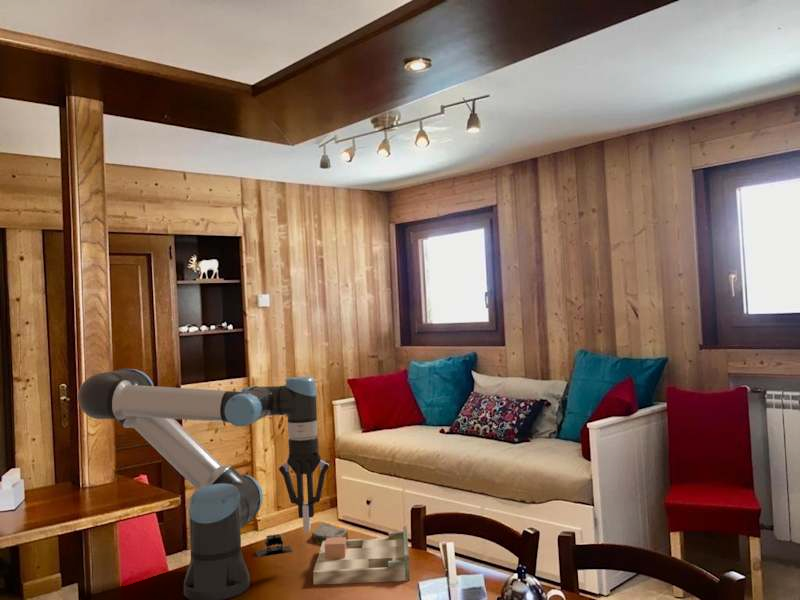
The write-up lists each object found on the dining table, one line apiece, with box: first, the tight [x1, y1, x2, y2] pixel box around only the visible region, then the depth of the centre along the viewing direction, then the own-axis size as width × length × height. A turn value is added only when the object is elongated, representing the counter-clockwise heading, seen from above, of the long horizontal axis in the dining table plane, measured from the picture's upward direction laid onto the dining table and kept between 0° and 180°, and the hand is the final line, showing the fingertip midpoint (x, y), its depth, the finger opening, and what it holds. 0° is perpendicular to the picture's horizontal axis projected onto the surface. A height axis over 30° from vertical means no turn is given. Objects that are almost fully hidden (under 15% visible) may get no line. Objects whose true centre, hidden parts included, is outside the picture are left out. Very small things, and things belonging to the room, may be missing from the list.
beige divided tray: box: [312, 525, 411, 586], centre depth 168 cm, size 23×22×6 cm
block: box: [325, 537, 346, 559], centre depth 168 cm, size 5×5×4 cm
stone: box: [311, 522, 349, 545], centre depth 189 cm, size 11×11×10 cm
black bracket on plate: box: [255, 533, 293, 558], centre depth 181 cm, size 12×7×5 cm, turn 110°
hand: (307, 529), depth 168 cm, fingers closed
